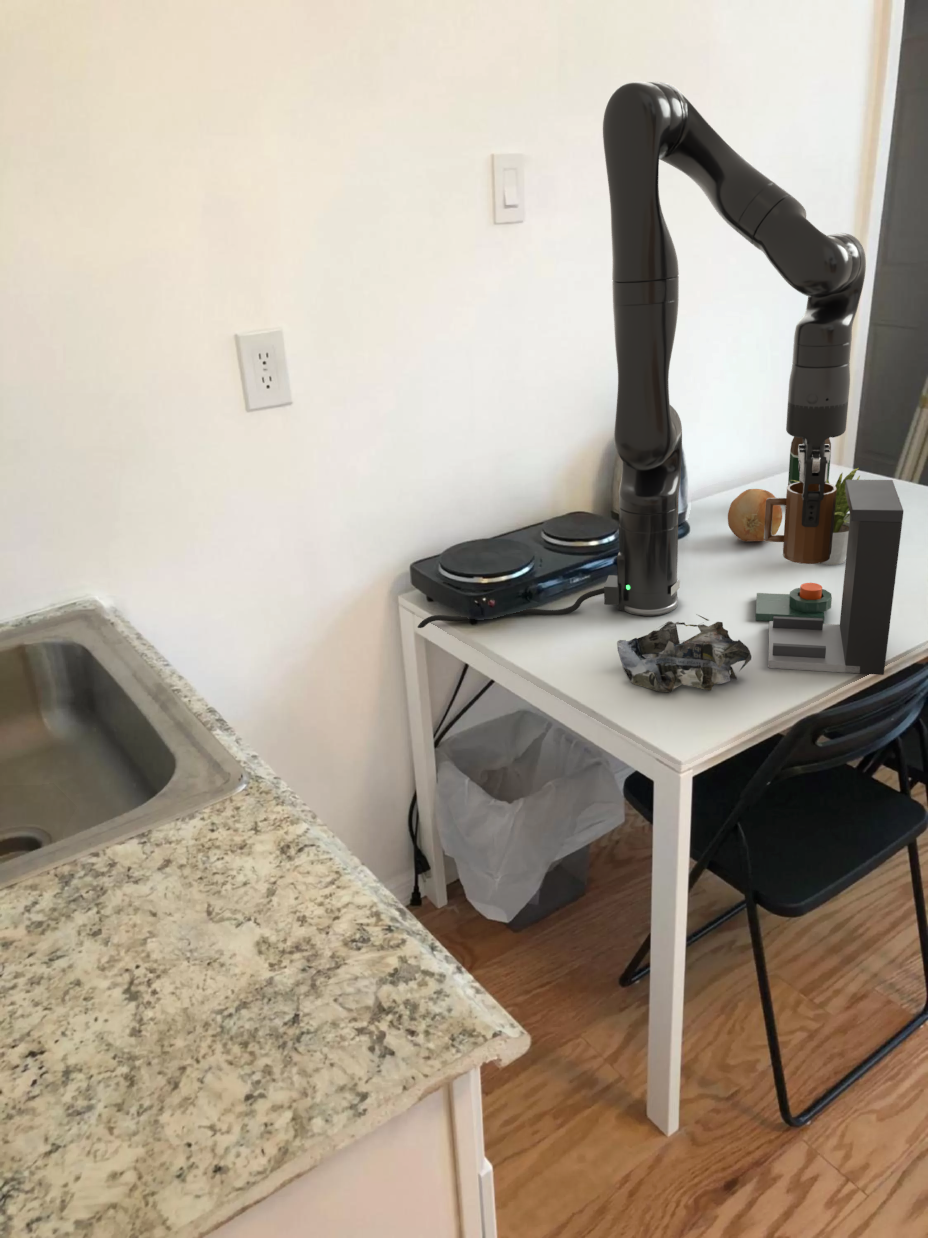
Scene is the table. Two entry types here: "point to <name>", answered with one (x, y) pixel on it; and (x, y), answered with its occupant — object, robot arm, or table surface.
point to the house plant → (840, 522)
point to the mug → (798, 539)
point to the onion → (752, 515)
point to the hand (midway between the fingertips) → (809, 517)
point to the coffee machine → (851, 593)
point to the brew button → (810, 591)
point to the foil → (682, 658)
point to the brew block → (791, 605)
